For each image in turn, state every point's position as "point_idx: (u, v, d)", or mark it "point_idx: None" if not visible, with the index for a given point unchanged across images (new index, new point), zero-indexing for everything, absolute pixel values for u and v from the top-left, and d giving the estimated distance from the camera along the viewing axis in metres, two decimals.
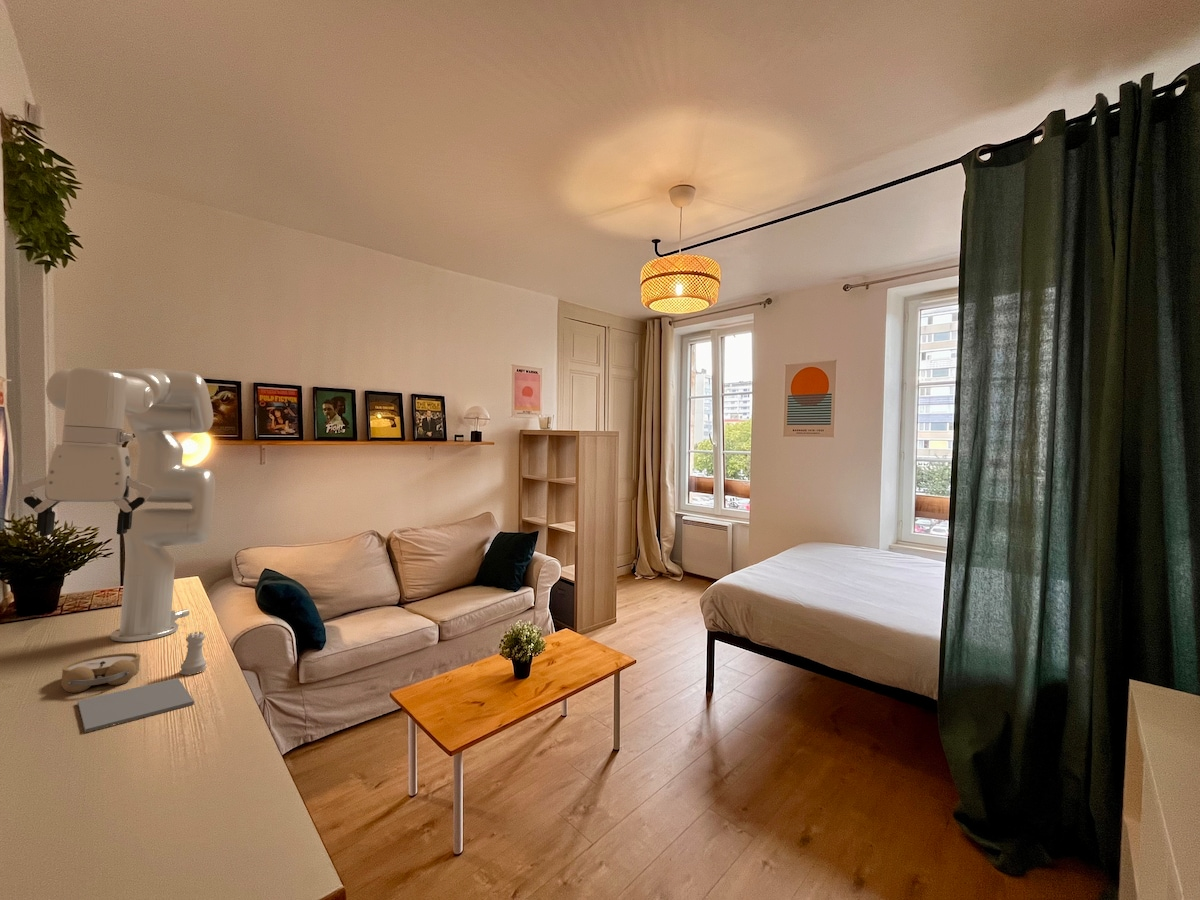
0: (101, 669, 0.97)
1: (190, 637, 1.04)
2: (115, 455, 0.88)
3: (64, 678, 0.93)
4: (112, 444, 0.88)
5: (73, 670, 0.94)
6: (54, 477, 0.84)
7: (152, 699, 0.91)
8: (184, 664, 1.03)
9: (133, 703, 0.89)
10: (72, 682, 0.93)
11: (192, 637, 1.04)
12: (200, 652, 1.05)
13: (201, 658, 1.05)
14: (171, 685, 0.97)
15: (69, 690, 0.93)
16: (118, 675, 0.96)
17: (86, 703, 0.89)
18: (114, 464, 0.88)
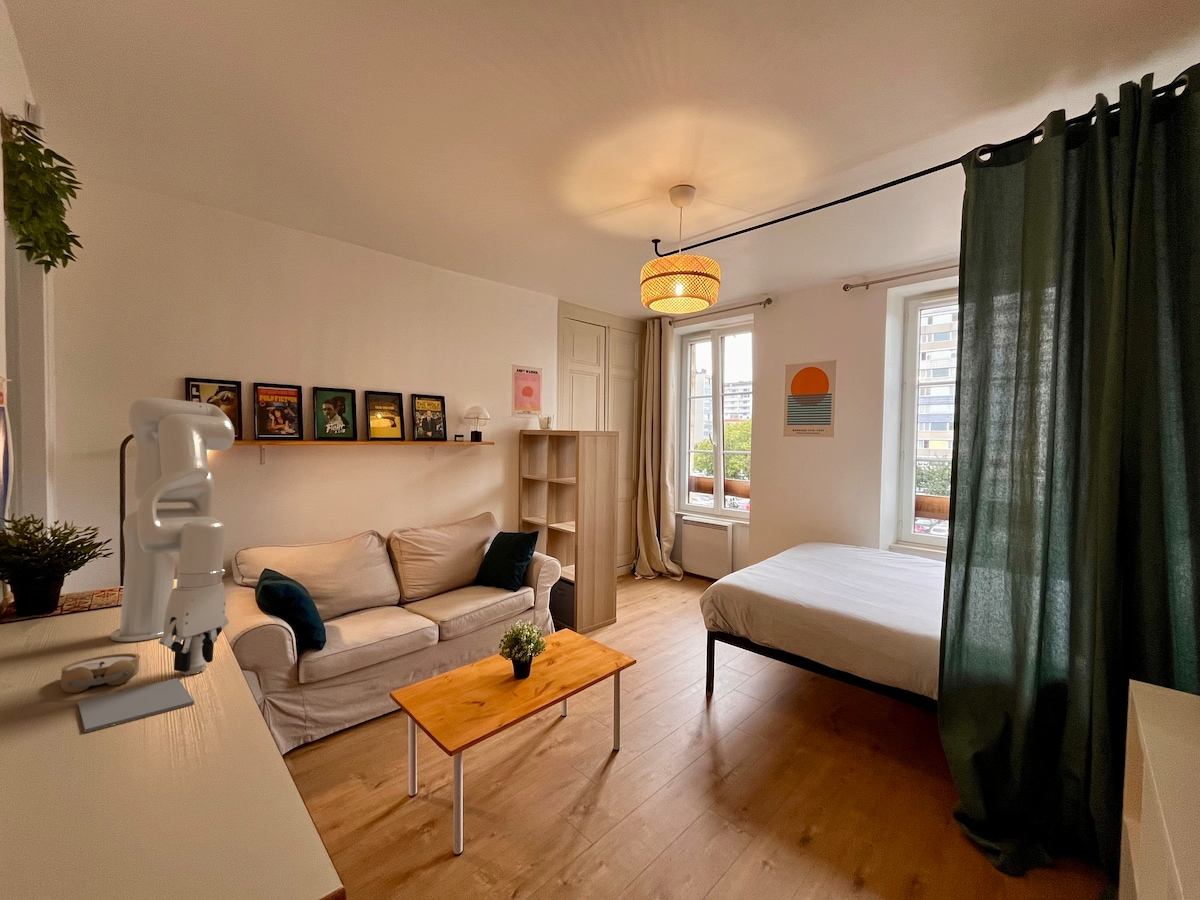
0: (100, 669, 0.96)
1: None
2: (222, 589, 1.09)
3: (63, 678, 0.93)
4: None
5: (72, 670, 0.94)
6: (188, 618, 1.01)
7: (152, 699, 0.91)
8: None
9: (133, 703, 0.89)
10: (71, 682, 0.93)
11: (192, 637, 1.04)
12: (200, 652, 1.05)
13: (201, 658, 1.05)
14: (171, 685, 0.97)
15: (68, 690, 0.93)
16: (117, 675, 0.96)
17: (86, 703, 0.89)
18: (222, 597, 1.09)
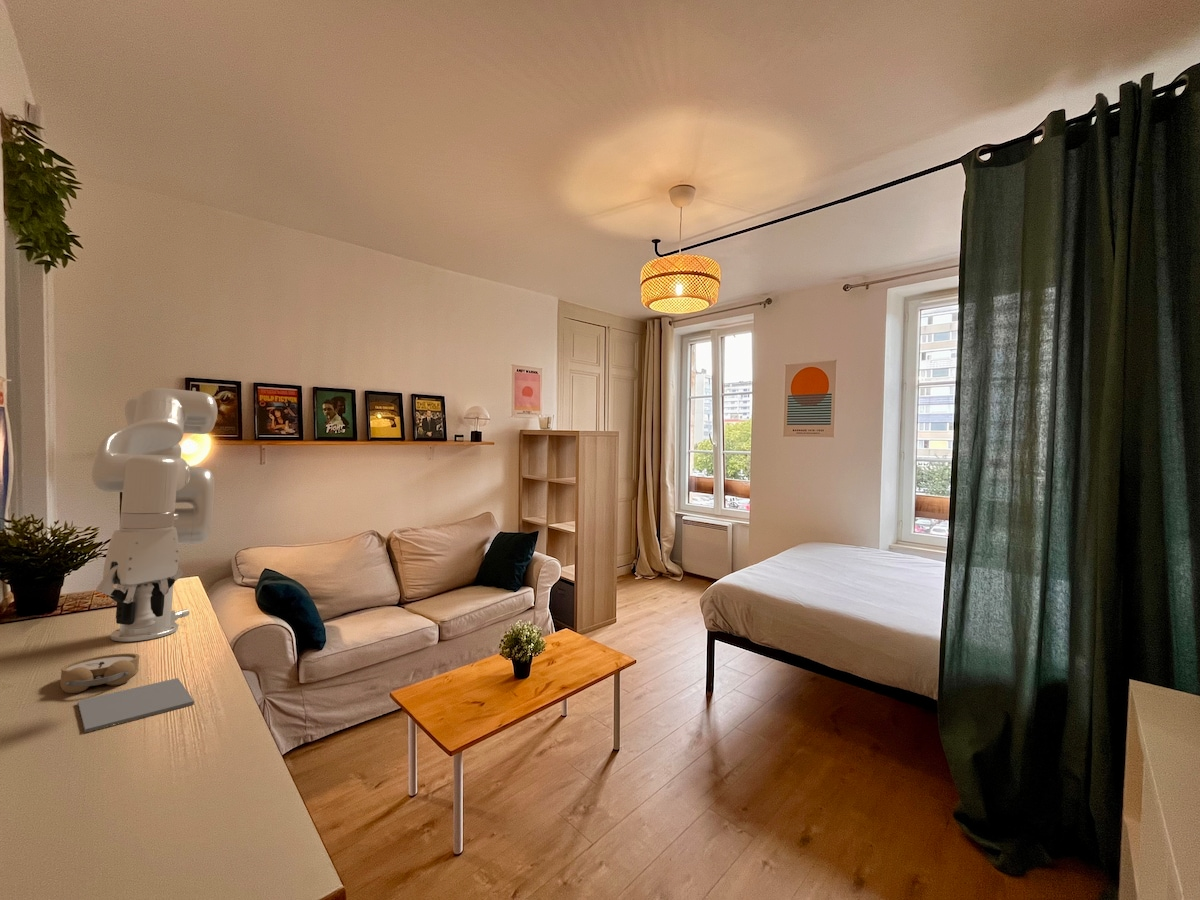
0: (100, 670, 0.96)
1: (136, 586, 0.91)
2: (174, 535, 0.96)
3: (63, 679, 0.93)
4: (173, 525, 0.96)
5: (72, 671, 0.94)
6: (132, 563, 0.89)
7: (152, 699, 0.91)
8: None
9: (133, 703, 0.89)
10: (71, 683, 0.93)
11: (138, 586, 0.92)
12: (148, 604, 0.93)
13: (149, 611, 0.93)
14: (171, 685, 0.97)
15: (68, 691, 0.93)
16: (117, 675, 0.96)
17: (86, 703, 0.89)
18: (175, 543, 0.96)
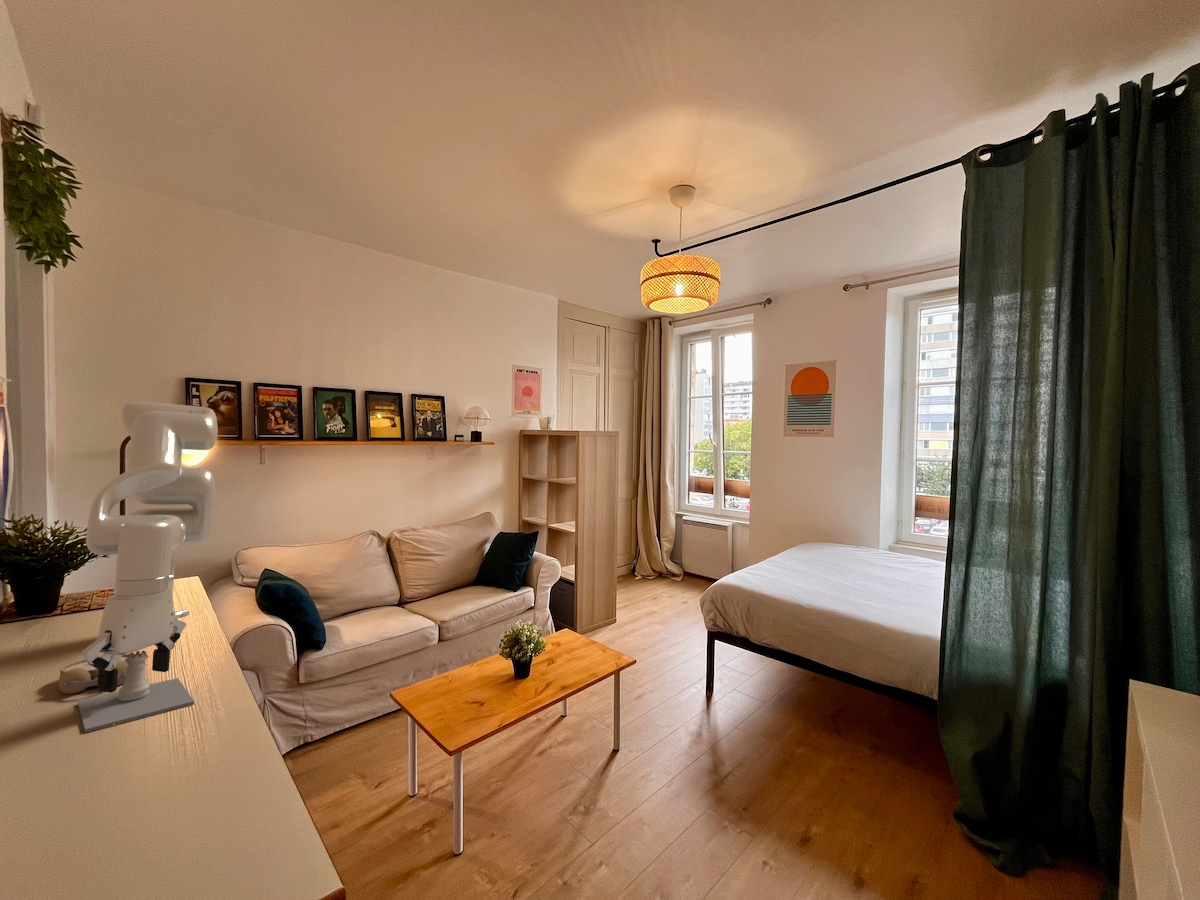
0: (98, 670, 0.96)
1: (130, 657, 0.91)
2: (169, 598, 0.96)
3: (60, 679, 0.93)
4: (168, 588, 0.95)
5: (69, 671, 0.93)
6: (126, 631, 0.88)
7: (152, 699, 0.91)
8: (122, 688, 0.90)
9: (133, 703, 0.89)
10: (68, 683, 0.92)
11: (132, 657, 0.91)
12: (142, 674, 0.92)
13: (143, 681, 0.92)
14: (171, 685, 0.97)
15: (65, 691, 0.93)
16: None
17: (86, 703, 0.89)
18: (170, 606, 0.96)
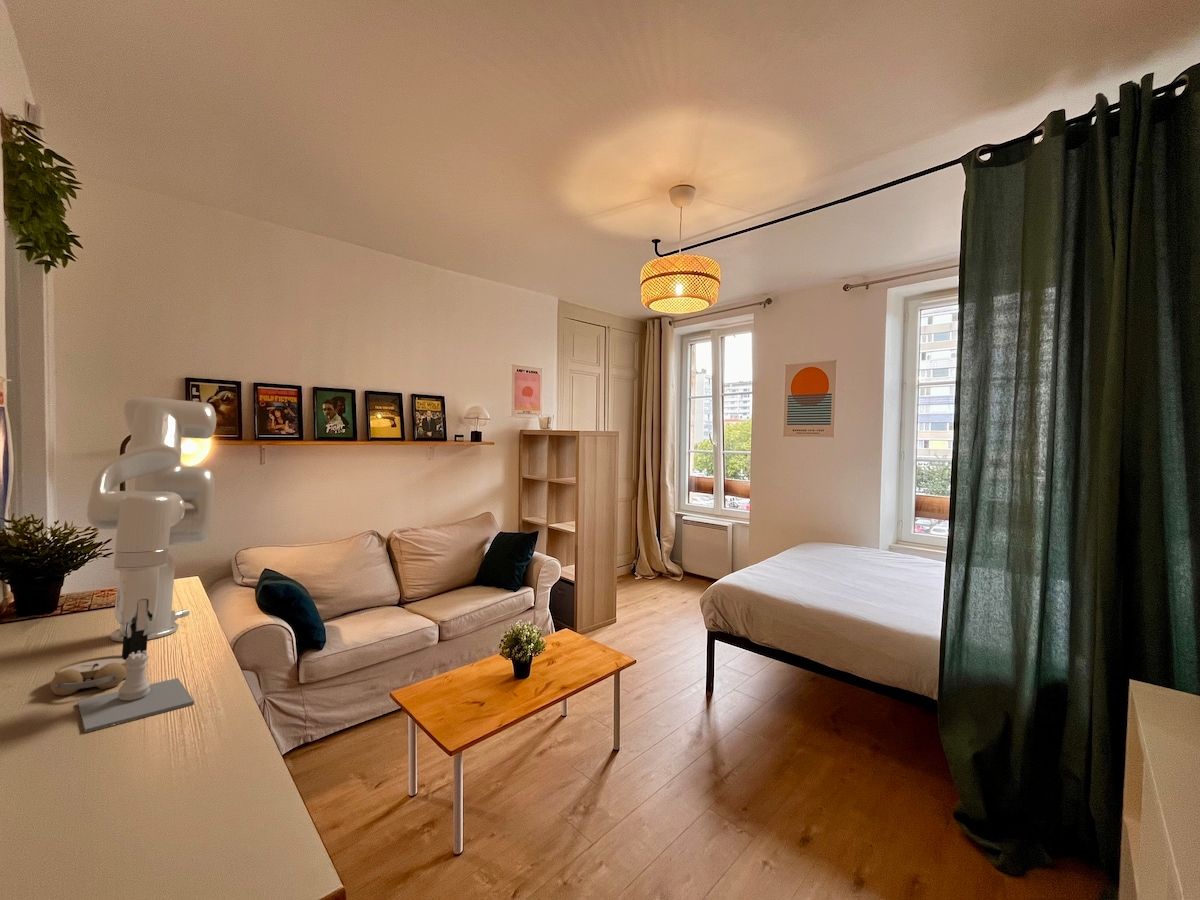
0: (90, 672, 0.95)
1: (130, 658, 0.90)
2: None
3: (52, 680, 0.92)
4: None
5: (62, 673, 0.93)
6: (157, 598, 0.93)
7: (152, 699, 0.91)
8: (123, 688, 0.90)
9: (133, 703, 0.89)
10: (59, 685, 0.92)
11: (132, 658, 0.90)
12: (142, 674, 0.92)
13: (143, 681, 0.92)
14: (171, 685, 0.97)
15: (57, 693, 0.92)
16: (106, 679, 0.95)
17: (86, 703, 0.89)
18: None
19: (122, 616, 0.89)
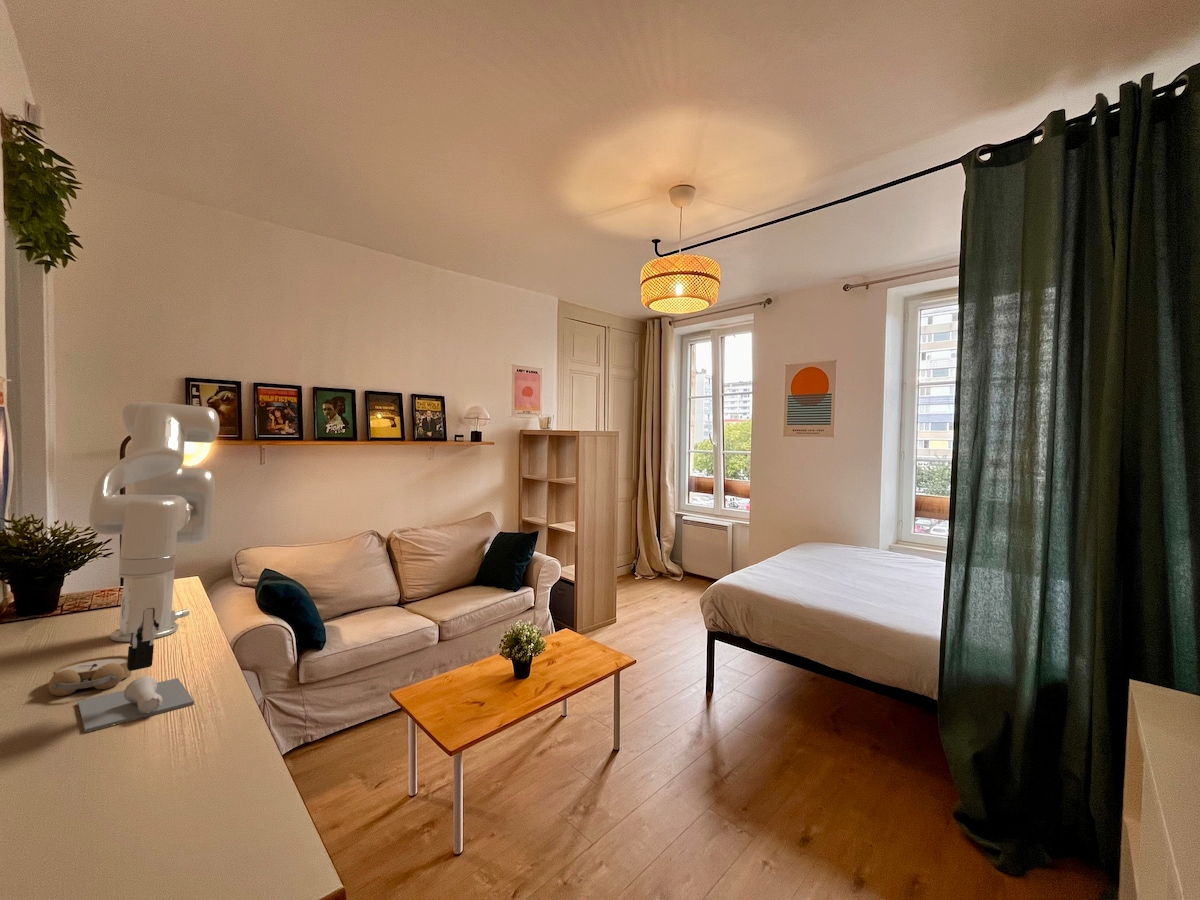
0: (88, 672, 0.95)
1: (142, 710, 0.85)
2: None
3: (50, 681, 0.92)
4: None
5: (59, 673, 0.92)
6: (164, 607, 0.90)
7: None
8: (130, 697, 0.88)
9: (133, 703, 0.89)
10: (57, 685, 0.91)
11: (144, 710, 0.86)
12: None
13: None
14: (171, 685, 0.97)
15: (55, 693, 0.92)
16: (103, 679, 0.94)
17: (86, 703, 0.89)
18: None
19: (127, 626, 0.85)
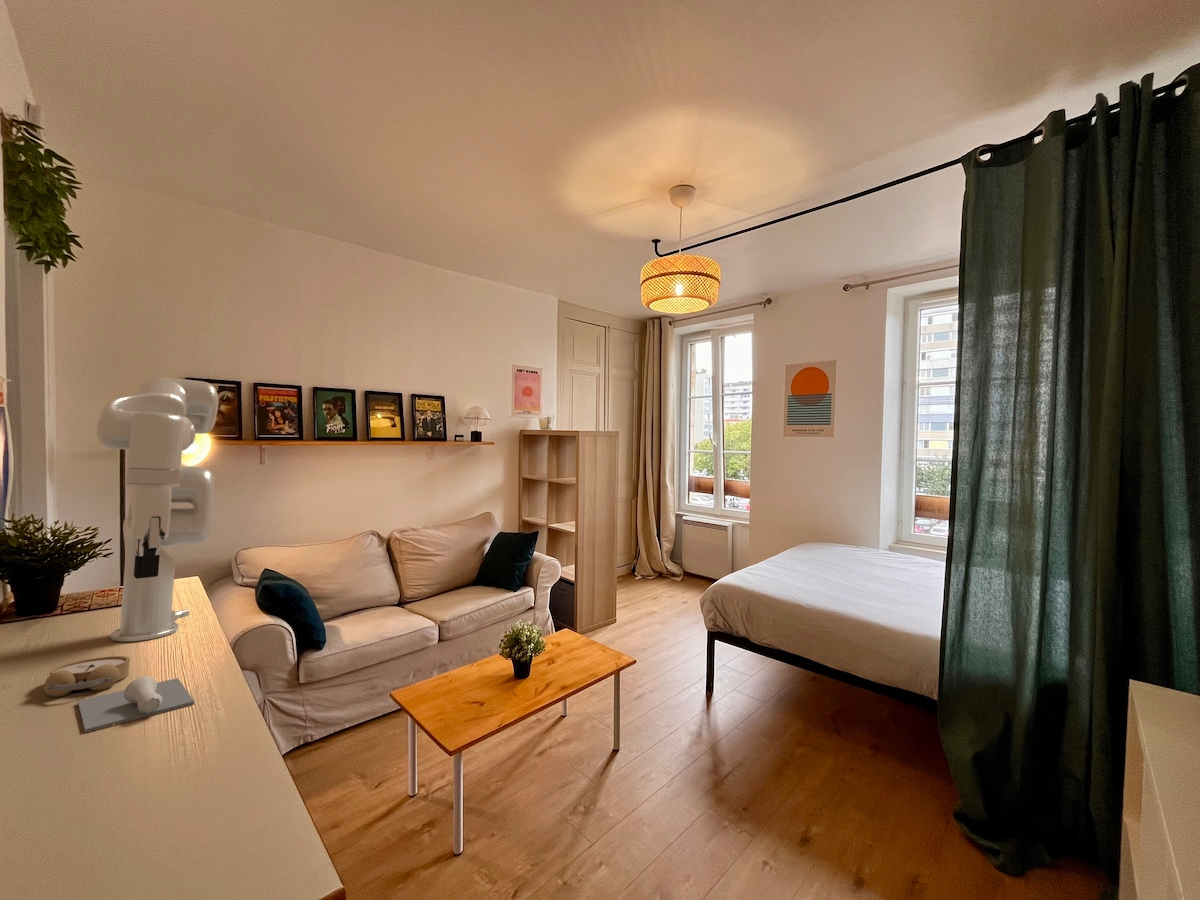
0: (83, 674, 0.94)
1: (142, 710, 0.85)
2: None
3: (45, 681, 0.92)
4: None
5: (54, 674, 0.92)
6: None
7: None
8: (130, 697, 0.88)
9: (133, 703, 0.89)
10: (52, 686, 0.91)
11: (144, 710, 0.86)
12: None
13: None
14: (171, 685, 0.97)
15: (50, 694, 0.91)
16: (97, 681, 0.94)
17: (86, 703, 0.89)
18: None
19: (134, 532, 0.87)
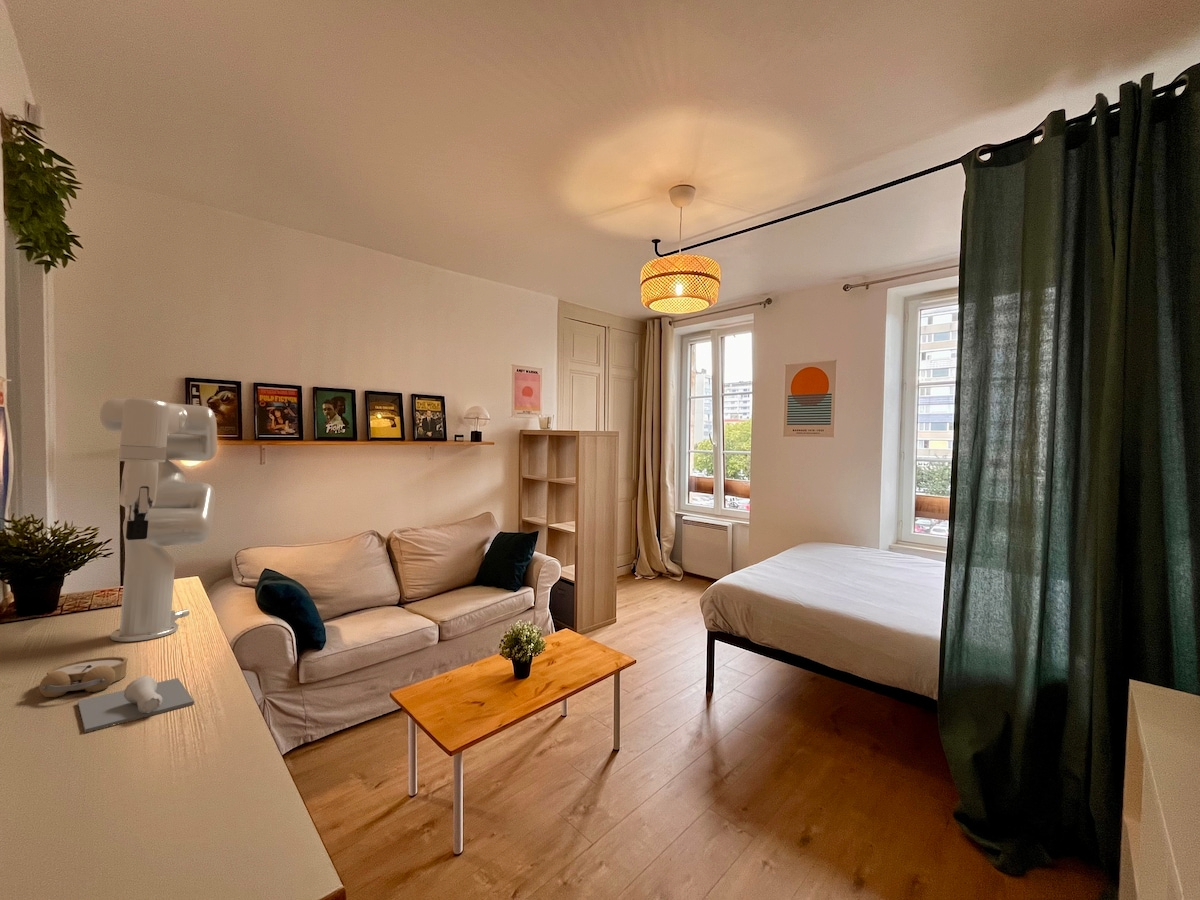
0: (78, 674, 0.94)
1: (142, 710, 0.85)
2: None
3: (41, 682, 0.91)
4: None
5: (50, 674, 0.92)
6: (157, 488, 1.07)
7: None
8: (130, 697, 0.88)
9: (133, 703, 0.89)
10: (46, 687, 0.91)
11: (144, 710, 0.86)
12: None
13: None
14: (171, 685, 0.97)
15: (45, 695, 0.91)
16: (92, 682, 0.93)
17: (86, 703, 0.89)
18: None
19: (126, 499, 1.03)
